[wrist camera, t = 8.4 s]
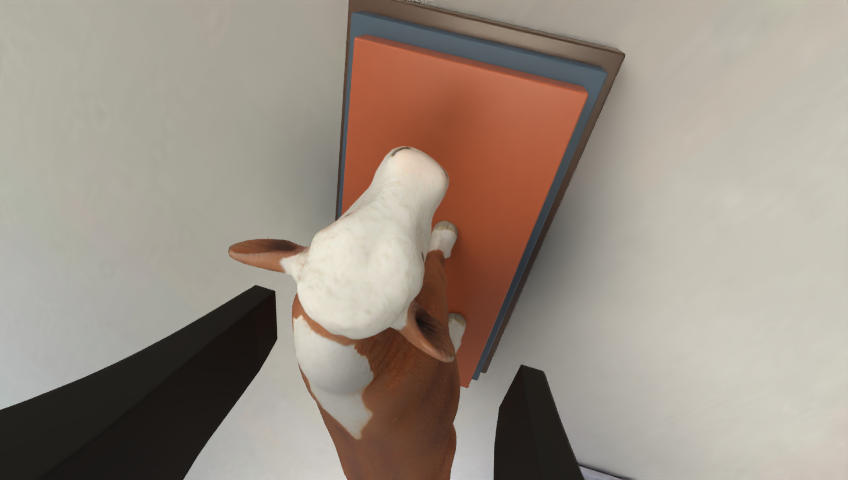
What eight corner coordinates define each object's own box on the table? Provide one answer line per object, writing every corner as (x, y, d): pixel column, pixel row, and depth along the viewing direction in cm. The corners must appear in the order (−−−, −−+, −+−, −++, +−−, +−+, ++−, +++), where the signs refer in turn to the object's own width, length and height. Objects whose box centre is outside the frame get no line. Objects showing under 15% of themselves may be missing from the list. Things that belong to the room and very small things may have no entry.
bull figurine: (497, 86, 11) (460, 224, 5) (467, 383, 19) (435, 605, 12) (355, 79, 12) (144, 189, 5) (379, 367, 19) (302, 567, 13)
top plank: (470, 372, 20) (467, 388, 19) (339, 332, 20) (331, 346, 19) (585, 86, 12) (590, 93, 11) (365, 33, 12) (353, 36, 11)
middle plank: (479, 365, 21) (477, 381, 20) (336, 322, 21) (329, 336, 20) (603, 67, 12) (608, 73, 11) (362, 10, 13) (350, 12, 12)
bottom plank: (487, 356, 22) (485, 374, 21) (336, 311, 23) (328, 326, 22) (619, 49, 13) (626, 53, 12) (361, -11, 14) (349, -11, 13)
